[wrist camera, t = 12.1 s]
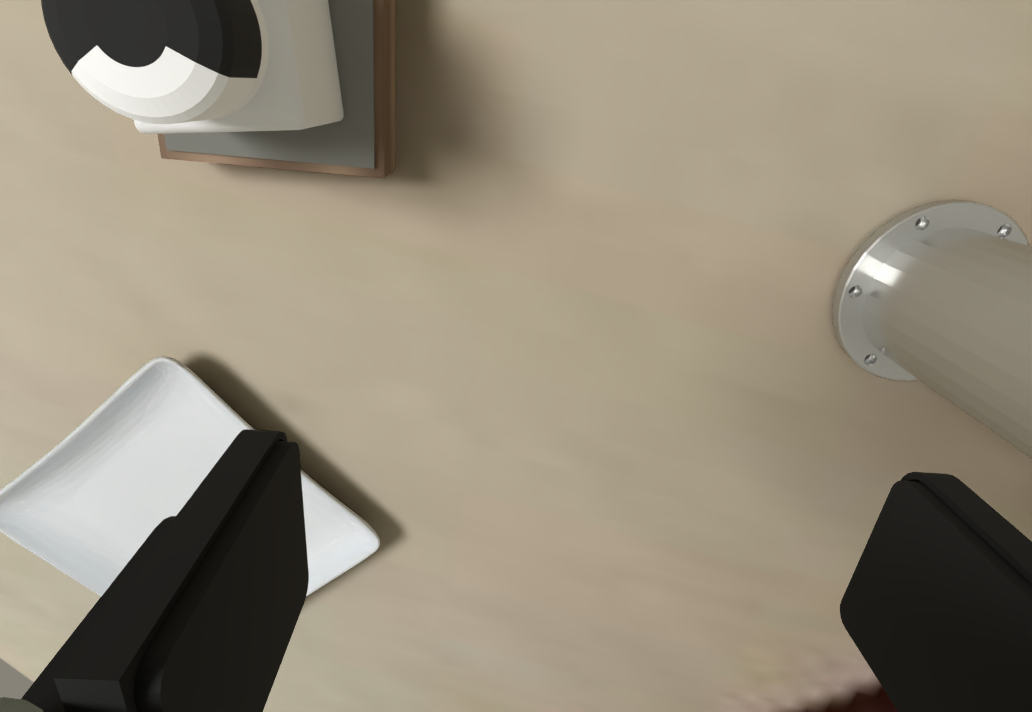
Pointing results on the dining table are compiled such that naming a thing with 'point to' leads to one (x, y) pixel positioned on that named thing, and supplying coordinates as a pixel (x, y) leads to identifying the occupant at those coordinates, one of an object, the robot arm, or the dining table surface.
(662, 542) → the dining table surface
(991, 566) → the robot arm
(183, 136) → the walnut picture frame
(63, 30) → the medicine bottle
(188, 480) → the salad plate
